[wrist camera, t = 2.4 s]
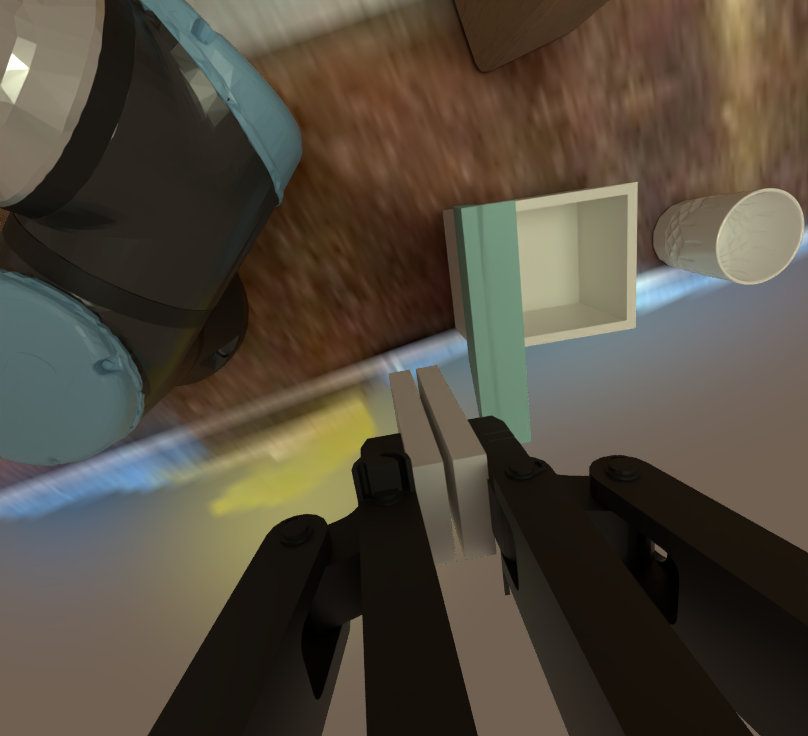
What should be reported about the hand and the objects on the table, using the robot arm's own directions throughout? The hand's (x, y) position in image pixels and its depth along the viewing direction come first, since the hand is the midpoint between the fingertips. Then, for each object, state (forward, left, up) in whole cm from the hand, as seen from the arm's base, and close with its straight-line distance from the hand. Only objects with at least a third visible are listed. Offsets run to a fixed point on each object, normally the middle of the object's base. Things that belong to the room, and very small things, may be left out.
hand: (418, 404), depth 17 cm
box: (+14, 0, -32) cm, 36 cm away
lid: (+8, 0, -14) cm, 16 cm away
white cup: (+32, 0, -33) cm, 46 cm away
